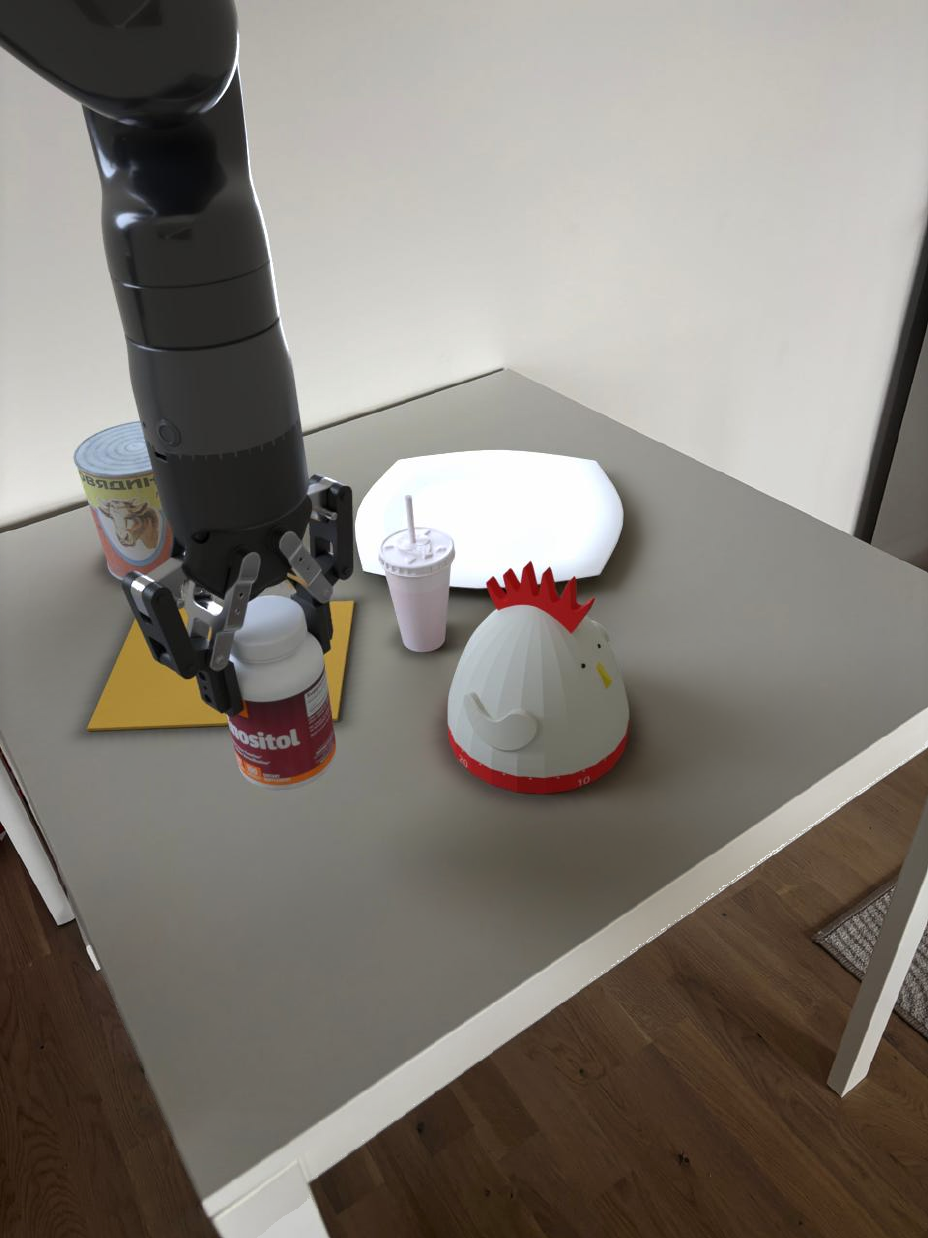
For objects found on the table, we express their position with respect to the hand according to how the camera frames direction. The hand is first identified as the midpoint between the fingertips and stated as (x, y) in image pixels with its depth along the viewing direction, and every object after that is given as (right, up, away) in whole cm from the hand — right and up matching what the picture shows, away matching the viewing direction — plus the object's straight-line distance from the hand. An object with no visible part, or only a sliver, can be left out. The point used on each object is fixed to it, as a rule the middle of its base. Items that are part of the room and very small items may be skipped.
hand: (272, 677), depth 57 cm
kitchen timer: (+17, -5, +18) cm, 26 cm away
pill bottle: (0, -5, +4) cm, 7 cm away
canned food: (-19, +10, +41) cm, 46 cm away
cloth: (-9, 0, +26) cm, 28 cm away
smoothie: (+8, +2, +28) cm, 29 cm away
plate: (+14, +13, +42) cm, 46 cm away
